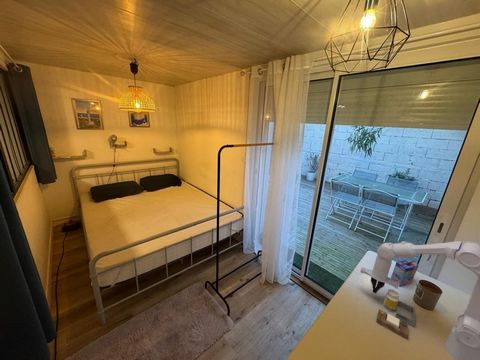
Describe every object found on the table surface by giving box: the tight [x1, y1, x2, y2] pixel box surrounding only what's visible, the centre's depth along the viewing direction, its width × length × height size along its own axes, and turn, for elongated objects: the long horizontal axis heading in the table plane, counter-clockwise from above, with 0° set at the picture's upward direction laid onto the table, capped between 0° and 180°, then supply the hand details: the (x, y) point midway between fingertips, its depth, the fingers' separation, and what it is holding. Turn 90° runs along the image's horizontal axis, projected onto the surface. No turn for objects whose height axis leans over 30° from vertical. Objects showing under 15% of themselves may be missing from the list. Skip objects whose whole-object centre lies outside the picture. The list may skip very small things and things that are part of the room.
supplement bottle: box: [382, 288, 400, 313], centre depth 89 cm, size 5×5×8 cm
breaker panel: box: [376, 308, 409, 340], centre depth 82 cm, size 10×6×3 cm, turn 49°
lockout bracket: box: [394, 300, 416, 328], centre depth 87 cm, size 6×9×2 cm, turn 139°
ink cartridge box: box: [390, 258, 419, 288], centre depth 104 cm, size 10×6×14 cm, turn 109°
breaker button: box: [385, 313, 399, 328], centre depth 82 cm, size 4×4×2 cm
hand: (374, 291), depth 93 cm, fingers closed
